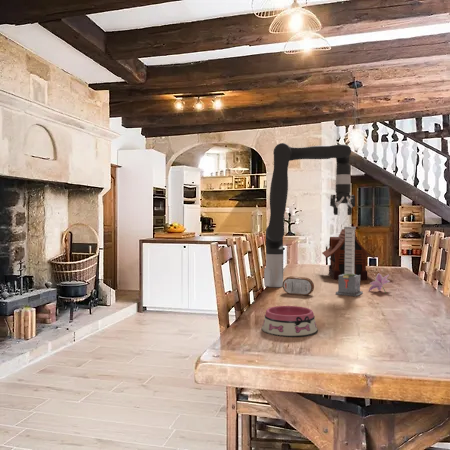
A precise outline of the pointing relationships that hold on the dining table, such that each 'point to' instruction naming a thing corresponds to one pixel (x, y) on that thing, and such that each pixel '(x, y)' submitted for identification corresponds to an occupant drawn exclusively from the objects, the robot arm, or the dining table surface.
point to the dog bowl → (289, 321)
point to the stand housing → (349, 285)
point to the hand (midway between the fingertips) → (342, 214)
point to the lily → (379, 282)
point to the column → (349, 250)
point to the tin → (298, 285)
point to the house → (338, 257)
